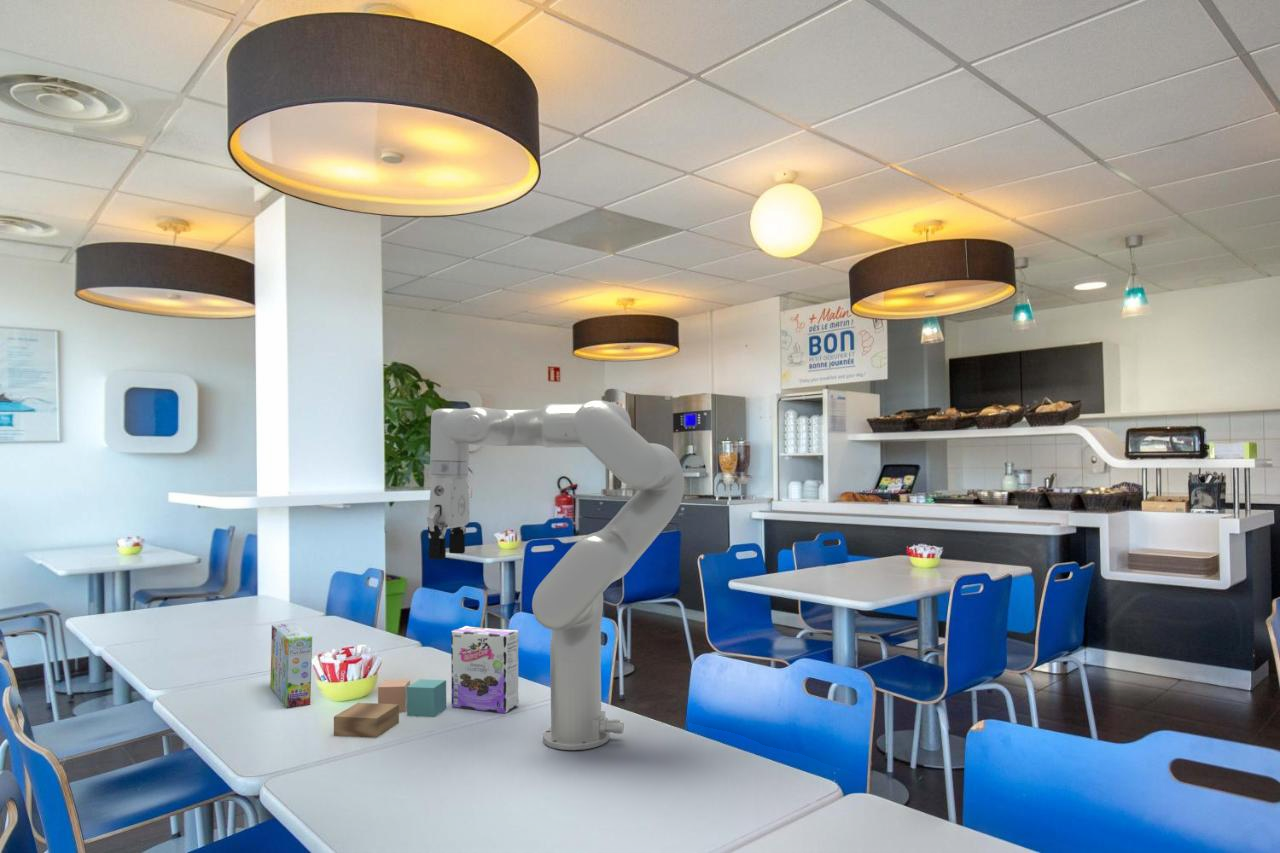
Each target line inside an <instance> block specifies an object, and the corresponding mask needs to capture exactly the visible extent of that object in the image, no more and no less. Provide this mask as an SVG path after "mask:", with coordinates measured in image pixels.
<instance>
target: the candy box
mask: <svg viewBox="0 0 1280 853" xmlns="http://www.w3.org/2000/svg"><path fill="white" fill-rule="evenodd" d="M450 642H451V654H450V655H451V657H450V658H451V661H450V662H451V670H450V671H451V674H450V675H451V707H453V708H457V709H458V708H459V709H467V710H477V711H483V712H494V713H499V714H506V713H508V711H509V712H510V710H511V711H512V709H513V710H515V709H516V708H518V707H519V706H518V705H519V630H518V629H503V628H502V629H501V628H500V629H499V628H488V627H487V628H486V627H475V626H469V625H465V626H463V627H459V628H457V629H453V630H451V641H450ZM517 706H518V707H517ZM515 707H516V708H515Z"/></svg>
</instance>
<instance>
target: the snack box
mask: <svg viewBox="0 0 1280 853" xmlns="http://www.w3.org/2000/svg"><path fill="white" fill-rule="evenodd" d="M270 641H271V642H270V643H271V648H270V649H271V651H270V681H269V682H270V686H269V687H270V689H271V690H272V691H273V692H274V693H275V695H276V696H277V697H278V699H280V701H281V703H282V704H283V705H284V706H285V708H287V709H288V708H296V707H301V706H309V705H311V691H312V689H311V688H312V658H313V657H312V656H313V655H312V654H313V636H312V635H311V634H310V633H309V632H307V631H305V630H304V629H303V628H302V627H301V626H299V625H297V624H296V623H295V622H293V621H291V622H283V623H275V624H271V640H270Z"/></svg>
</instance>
